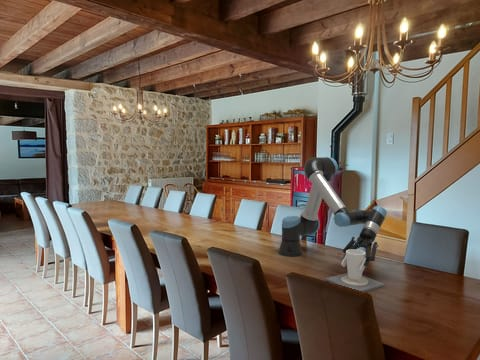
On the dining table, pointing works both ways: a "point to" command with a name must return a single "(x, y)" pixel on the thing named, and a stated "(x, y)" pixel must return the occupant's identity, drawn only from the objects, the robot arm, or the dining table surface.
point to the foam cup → (354, 263)
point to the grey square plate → (355, 282)
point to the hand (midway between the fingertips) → (351, 268)
